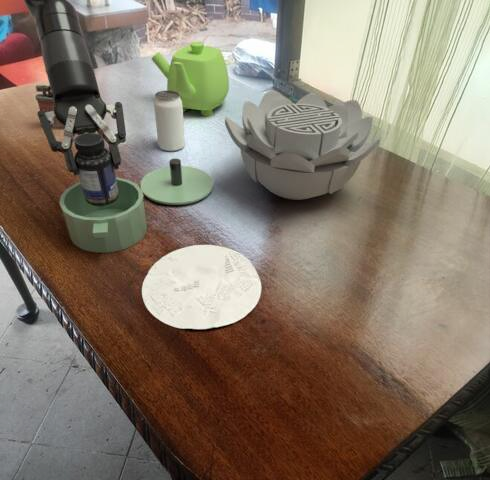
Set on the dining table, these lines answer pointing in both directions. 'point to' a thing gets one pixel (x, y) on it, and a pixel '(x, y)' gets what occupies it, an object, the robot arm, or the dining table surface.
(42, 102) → the lighter
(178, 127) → the can
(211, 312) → the plaque
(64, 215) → the pot
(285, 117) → the decorative bowl
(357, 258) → the dining table surface
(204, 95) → the teapot
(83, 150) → the pill bottle
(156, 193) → the lid
